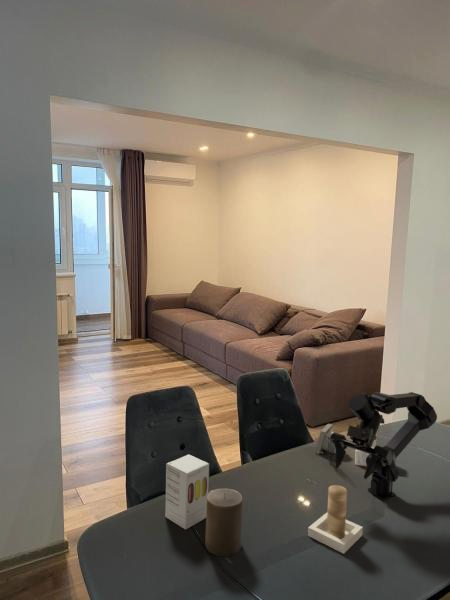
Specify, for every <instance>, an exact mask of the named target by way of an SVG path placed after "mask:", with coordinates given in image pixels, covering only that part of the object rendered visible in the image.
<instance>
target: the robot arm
mask: <svg viewBox="0 0 450 600" xmlns="http://www.w3.org/2000/svg"><path fill="white" fill-rule="evenodd" d="M348 407H349V408H350V410H351V411H352V413H353V414H354V415H355V416H356V417H357V418H358V419H359V420H360V422H359V424H356V425H354V426H353V425H350V424H349V425H348V429H347V433H346V436H348V437H349V439H350V440H348V439H347V438H346V436H345V435H344V434H342V433H338V432H335V431H334V433H332V434H331V436H330V438H329V439H330V441H331V442H332V444H333V445H334V446H335V448H336V453H335V459H336V461H335V464H334V466H335V467H336V469H337V470H338V468H340V466H341V465H342V461H343V459H344V457H345V454H346V453H347V451H346V450H347V448H350V449H353V450H355V451H356V450H359V451H362V452H365V453H368V454H369V455H368V456H367V458H366V465H367V466H366V469H365V472H364V474H363V479H364V480H367V479H368V478H370V476H371V480H370V487H368V488H367V491H368V492H369V493H371V494H373V496H376V497H377V498H378V499H380V500H384V499H388V498H392V497H395V496H396V492H394V491H393V483H395V482H397V480H398V478H399V475H400V472H399V471H398V469H397V468H396V467H397V458H398V456H400V454H401V453H402V451H404V449H406V447H407V446H408V445H409V444H410V443H411V441H412V440H413V439H414V438H415V437H416V435H417V434H418V433H420V431H423V430H427V429H430V428H431V426H433V425H434V424H435V423H436V422H437V420H438V415H437V412H436V410H435V408H434V406H432V404H430V403H429V402H428V401H427V400H426V398H425V396H423V395H422V394H419V393H416V392H413V391H411V392H410V391H409V392H406V393H399V394H398V393H396V394H387V393H382V392H378V391H373V392H372V394H370V395H368V394H367V393H366V392H365V393H364V392H360V393H359V394H357V395H354V396H353V397H351V398H350V400H349V401H348ZM402 408H403V409H404V408H406V409H407V411H408V413H407V420H406V422H405V423H404V424H403V425H402V426H401V427H400V429H398V431H397V432H396V433H395V434H394V435H393V436H392V437H391V439H389V440H388V442H387V443H385V445H384V446H380V445H375V446H373V444H374V442H375V441H376V440H377V439H378V438H377V434H378V431H379V428H380V426H381V424H383V425H384V424H385V423H386V422H385V419H384V417H383V415H382V414H385V415H390V414H393V413H395V412H396V411H397V410H398V409H402ZM380 413H382V414H380ZM372 446H373V447H372ZM371 447H372V448H371ZM335 467H334V468H335ZM336 469H335V470H336Z"/></svg>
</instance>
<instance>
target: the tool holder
mask: <svg viewBox="0 0 450 600" xmlns="http://www.w3.org/2000/svg"><path fill="white" fill-rule="evenodd" d="M363 530H364V529H363V526H361V525H360V524H358V523H355V522H352V521H350V520H348V519H346V520H345V536H344V538H342V539H339V538H337V537H335V536H333V535H331V534H329V533H327V512H326V513H324V514H323V515H321V516H320V517H319V518H318V519H317V520H316V521H314V522H313V523H312V524H311V525H310V526H308V527H307V536H308V537H309V538H312V539H314V540H316V541H317V542H319V543H322V544H324V545H326V546H327V547H329V548H332V549H333V550H335V551H337V552H339V553H342V554H343V555H345V553H346V552H347V551H348V550H349V549H350V548H352V547H353V545H354V544H355V543H356V542H357V541H358V540H359V539H360V538H361V537H363Z"/></svg>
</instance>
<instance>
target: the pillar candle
mask: <svg viewBox="0 0 450 600" xmlns="http://www.w3.org/2000/svg"><path fill="white" fill-rule="evenodd" d="M242 518H243V496H242V494H241V493H240V492H239V491H238V490H235V489H230V488H216V489H211V490H210V491H209V492H208V495H207V510H206V518H205V537H204V538H205V539H204V541H205V542H204V543H205V544H204V545H205V548H206V550H207V551H208V552H209V553H210V554H211V555H214V556H217V557H227V558H228V557H231V556H233V555H235V554H237V553H238V552H240V550H241V548H242V524H243V523H242V521H243V520H242Z"/></svg>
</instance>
